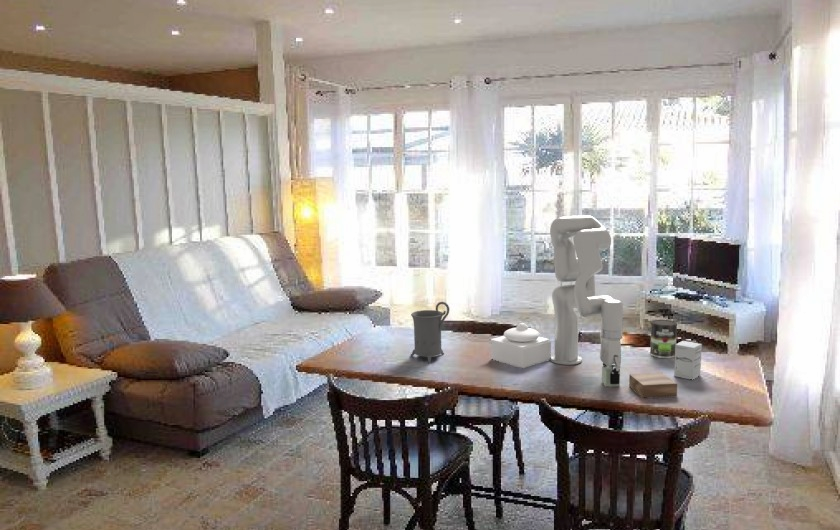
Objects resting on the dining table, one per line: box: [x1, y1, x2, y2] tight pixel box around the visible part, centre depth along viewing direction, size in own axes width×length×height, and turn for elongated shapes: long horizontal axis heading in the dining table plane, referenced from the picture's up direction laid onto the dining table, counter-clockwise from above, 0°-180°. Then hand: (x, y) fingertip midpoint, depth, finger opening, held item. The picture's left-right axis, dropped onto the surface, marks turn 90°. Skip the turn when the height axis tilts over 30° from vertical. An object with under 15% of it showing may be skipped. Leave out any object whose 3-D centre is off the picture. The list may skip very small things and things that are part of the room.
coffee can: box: [649, 319, 678, 359], centre depth 267 cm, size 10×10×14 cm
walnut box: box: [628, 372, 678, 399], centre depth 225 cm, size 12×12×5 cm
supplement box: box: [673, 340, 703, 381], centre depth 239 cm, size 7×7×13 cm
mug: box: [410, 301, 450, 364], centre depth 270 cm, size 19×15×25 cm
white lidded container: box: [490, 322, 552, 369], centre depth 266 cm, size 18×18×16 cm
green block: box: [601, 366, 621, 387], centre depth 233 cm, size 5×5×6 cm
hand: (610, 379), depth 233 cm, fingers open, 8 cm apart
